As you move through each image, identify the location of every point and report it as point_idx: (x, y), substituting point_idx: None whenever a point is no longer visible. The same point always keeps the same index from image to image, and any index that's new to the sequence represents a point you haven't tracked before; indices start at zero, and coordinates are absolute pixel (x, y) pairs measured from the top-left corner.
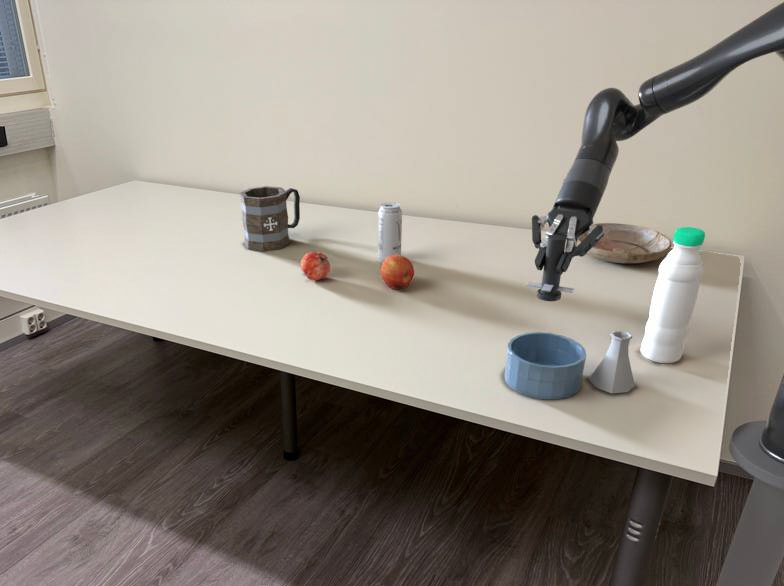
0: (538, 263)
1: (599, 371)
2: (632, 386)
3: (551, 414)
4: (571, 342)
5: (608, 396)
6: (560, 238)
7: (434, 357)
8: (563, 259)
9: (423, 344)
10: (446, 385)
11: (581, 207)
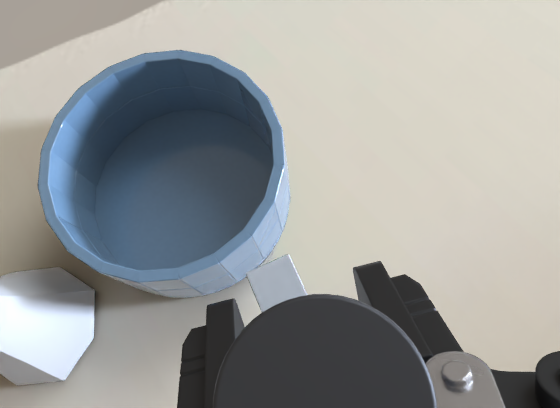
0: (368, 268)
1: (46, 282)
2: None
3: None
4: (130, 268)
5: (21, 260)
6: (259, 385)
7: (468, 75)
8: (207, 356)
9: (554, 102)
10: (335, 8)
11: None
